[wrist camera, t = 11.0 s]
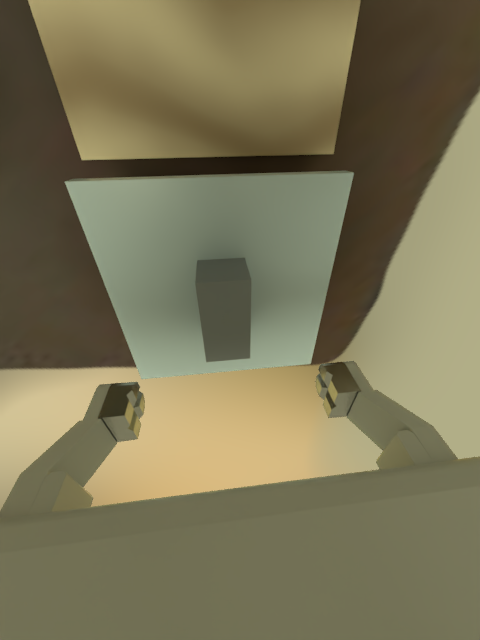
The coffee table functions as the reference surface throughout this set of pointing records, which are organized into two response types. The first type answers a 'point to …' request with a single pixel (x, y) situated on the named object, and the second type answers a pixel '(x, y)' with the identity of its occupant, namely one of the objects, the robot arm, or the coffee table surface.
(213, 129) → the tan square mat
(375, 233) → the coffee table surface
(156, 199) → the lid
